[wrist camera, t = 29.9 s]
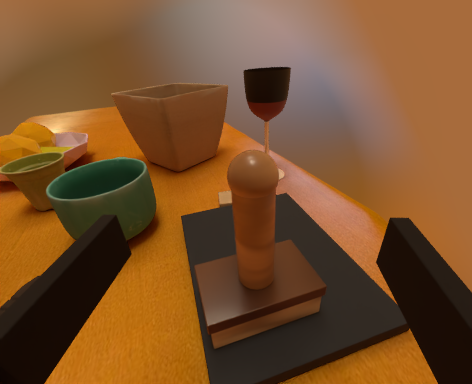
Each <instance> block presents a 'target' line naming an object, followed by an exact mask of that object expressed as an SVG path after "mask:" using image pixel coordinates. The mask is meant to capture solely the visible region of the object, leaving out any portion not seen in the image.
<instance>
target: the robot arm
mask: <svg viewBox="0 0 472 384" xmlns="http://www.w3.org/2000/svg"><path fill="white" fill-rule="evenodd" d="M130 256H131V251H130V248H129V246H128V243H127V241H126V238H125V236H124V233H123V230H122V228H121V225H120V223H119V220H118V218H117V215H106V214H103V215H102V216H101V217H100V218H99V219H98V220H97V221H96V222H95V223H94V224H93V225H92V226H91V227H90V228H89V229H87V230H86V231H85V232H84V233H83V234H82V235H81V236H80V237H79V238H78V239H77V240H76V241H75V242H74V243H73V244H72V245H71V246H70V247H69V248H68V249H67V250H66V251H65V252H64V253H63V254H62V255H61V256H60V257H59V258H58V259H57V260H56V261H55V262H54V263H53V264H52V265H51V266H50V267H49V268H48V269H47V270H46V271H45V272H44V273H43V274H42V275H41V276H37V277H36V278H34V279H33V280H31V281H30V282H28V283H27V284H25V285H24V286H22V287H21V288H20V289H19V290H18V291H17V292H16V293H15V294H14V295H13V296H12V297H11V299H10V300H8V301H7V302H6V303H5V304H4V305H3V306H2V307H1V308H0V384H44V383H45V382H46V380H47V379H48V377H49V376H50V374H51V373H52V371H53V370H54V368H55V367H56V365H57V364H58V362H59V361H60V359H61V358H62V356H63V355H64V354H65V352H66V351H67V349H68V348H69V346H70V345H71V343H72V342H73V340H74V339H75V337H76V336H77V334H78V333H79V331H80V330H81V328H82V327H83V325H84V324H85V322H86V321H87V319H88V318H89V316H90V315H91V313H92V312H93V310H94V309H95V307H96V306H97V305H98V303H99V302H100V300H101V299H102V297H103V296H104V294H105V293H106V291H107V290H108V288H109V287H110V285H111V284H112V282H113V281H114V279H115V278H116V276H117V275H118V273H119V272H120V270H121V269H122V267H123V266H124V264H125V263H126V261H127V260H128V258H129V257H130ZM376 263H377V265H378V267H379V269H380V271H381V273H382V275H383V277H384V279H385V281H386V283H387V285H388V287H389V288H390V290H391V292H392V294H393V296H394V298H395V300H396V302H397V304H398V306H399V308H400V310H401V312H402V314H403V316H404V318H405V320H406V322H407V324H408V326H409V328H410V330H411V331H412V333H413V335H414V337H415V339H416V341H417V343H418V345H419V347H420V349H421V351H422V353H423V355H424V357H425V359H426V361H427V363H428V365H429V367H430V369H431V371H432V373H433V374H434V376H435V378H436V380H437V382H438V384H472V292H471V291H470V290H469V289H468V288H467V286H466V285H465V284H464V283H463V282H462V280H461V279H460V278H459V277H458V276H457V274H456V273H455V272H454V271H453V270H452V269H451V268H450V266H449V265H448V264H447V263H446V261H445V260H444V259H443V258H442V257H441V256H440V254H439V253H438V252H437V251H436V250H435V248H434V247H433V246H432V245H431V244H430V242H429V241H428V240H427V239H426V238H425V237H424V235H423V234H422V233H421V232H420V231H419V229H418V228H417V227H416V226H415V225H414V224H413V222H412V221H411V220H410V219H409V218H390V220H389V223H388V226H387V229H386V232H385V236H384V239H383V242H382V245H381V248H380V252H379V255H378V258H377V261H376Z"/></svg>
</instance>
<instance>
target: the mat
mask: <svg viewBox="0 0 472 384" xmlns="http://www.w3.org/2000/svg"><path fill="white" fill-rule="evenodd" d="M181 219H182V224H183V230H184V236H185V242H186V248H187V253H188V259H189V265H190V271H191V276H192V282H193V288H194V294H195V299H196V305H197V311H198V317H199V322H200V328H201V334H202V340H203V346H204V351H205V357H206V363H207V369H208V374H209V380H210V384H277V383H279V382H282V381H284V380H287V379H289V378H292V377H294V376H297V375H299V374H302V373H304V372H306V371H309V370H311V369H314V368H316V367H319V366H321V365H324V364H326V363H329V362H331V361H334V360H336V359H339V358H341V357H343V356H346V355H348V354H351V353H353V352H356V351H358V350H361V349H363V348H366V347H368V346H371V345H373V344H376V343H378V342H380V341H383V340H385V339H388V338H390V337H393V336H395V335H398V334H400V333H403V332H405V331H408V330H409V326H408V324H407V322H406V320H405V318H404V316H403V314H402V312H401V310H400V308H399V306H398V305H397V304H396V303H395V302H394V301H393V300H392V299H391V298H390V297H389V296H388V295H387V294H386V293H385V292H384V291H383V290H382V289H381V288H380V287H379V286H378V285H377V284H376V283H375V282H374V281H373V280H372V279H371V278H370V277H369V276H368V275H367V274H366V273H365V271H364V270H363V269H362V268H361V267H360V266H359V265H358V264H357V263H356V262H355V261H354V260H353V259H352V258H351V257H350V256H349V255H348V254H347V253H346V252H345V251H344V250H343V249H342V248H341V247H340V246H339V245H338V244H337V243H336V242H335V241H334V240H333V239H332V238H331V237H330V236H329V235H328V234H327V233H326V232H325V231H324V230H323V229H322V228H321V227H320V226H319V225H318V224H317V223H316V222H315V221H314V220H313V219H312V218H311V217H310V216H309V215H308V214H307V213H306V212H305V211H304V210H303V209H302V208H301V207H300V206H299V205H298V204H297V203H296V202H295V201H294V200H293V199H292V198H291V197H290V196H289V195H288V194H287V193H284V194H280V195H276V201H275V243H279V242H283V241H286V240H291V241H292V242H293V243H294V245H295V246H296V247H297V248H298V250H299V251H300V252H301V254H302V255H303V256H304V257H305V259H306V260H307V261H308V263H309V264H310V265H311V266H312V268H313V269H314V270H315V272H316V273H317V274H318V275H319V277H320V278H321V279H322V281H323V282H324V283H325V284H326V286H327V289H326V294H325V295H324V296H322V297H321V302H320V308H319V312H316V313H313V314H311V315H308V316H305V317H302V318H299V319H297V320H294V321H291V322H288V323H286V324H283V325H280V326H277V327H274V328H272V329H269V330H266V331H263V332H261V333H258V334H255V335H252V336H249V337H247V338H244V339H241V340H238V341H236V342H233V343H230V344H227V345H225V346H222V347H219V348H216V349H214V346H213V342H212V337H211V335H209V334H208V330H207V326H206V321H205V316H204V311H203V306H202V302H201V297H200V292H199V287H198V282H197V278H196V273H195V268H194V266H195V265H198V264H202V263H206V262H209V261H213V260H217V259H220V258H224V257H228V256H231V255H235V254H237V253H236V242H235V230H234V218H233V207H232V205H229V206H225V207H220V208H215V209H211V210H206V211H202V212H197V213H193V214H188V215H183V216H181Z"/></svg>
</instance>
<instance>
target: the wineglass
mask: <svg viewBox="0 0 472 384" xmlns="http://www.w3.org/2000/svg"><path fill="white" fill-rule="evenodd" d="M290 69H291V68H289V67H271V68H258V69H248V70H244V83H245V93H246V99H247V102H248V105H249V108H250V109H251V111H252V112H253V113H254V114H255V115H256V116H257V117H259V118H261V119H263V120H264V121H265V153H266V154H268V152H269V146H268V144H269V143H268V141H269V131H268V130H269V120H270V119H272V118H274V117H275V116H277V115H278V114H279V113H280V112H281V111H282V110H283V108H284V106H285V104H286V100H287V96H288V90H289V81H290ZM278 171H279V180H280V179H281V178H283V177H284V175H285V174H284V172H283V171H282V170H281V169H279V168H278Z"/></svg>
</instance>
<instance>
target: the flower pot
mask: <svg viewBox="0 0 472 384" xmlns="http://www.w3.org/2000/svg"><path fill="white" fill-rule="evenodd" d="M227 94H228V85H215V84H194V83H193V84H192V83H174V84H167V85H161V86H154V87H148V88H141V89H135V90H129V91H123V92H117V93H112V94H111V95H112V97H113V99H114V102H115V104H116V106H117V108H118V110H119V112H120V114H121V116H122V118H123V120H124V122H125V124H126V126H127V128H128V129H129V131H130V133H131V135H132V136H133V138H134V140H135V141H136V143H137V144H138V146H139V147H140V149H141V150H142V152H143V153H144V155H145V156H146V157H147V159H148V160H149V161H150V162H153V163H155V164H158V165H160V166H163V167H166V168H168V169H171V170H173V171H176V172H179V171H183V170H185V169H187V168H189V167H191V166H194V165H196V164H198V163H200V162H202V161H205V160H207V159H209V158H211V157H213V156H215V155H216V152H217V149H218V145H219V141H220V137H221V133H222V129H223V123H224V117H225V111H226V103H227Z"/></svg>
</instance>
